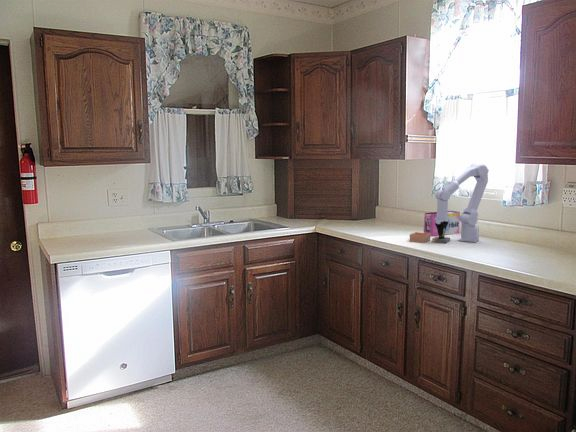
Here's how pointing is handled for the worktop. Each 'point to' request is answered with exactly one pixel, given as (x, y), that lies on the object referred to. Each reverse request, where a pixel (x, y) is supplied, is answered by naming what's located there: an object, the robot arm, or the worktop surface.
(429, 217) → the gum box
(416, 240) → the cup
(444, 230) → the battery cell
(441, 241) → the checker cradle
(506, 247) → the worktop surface
